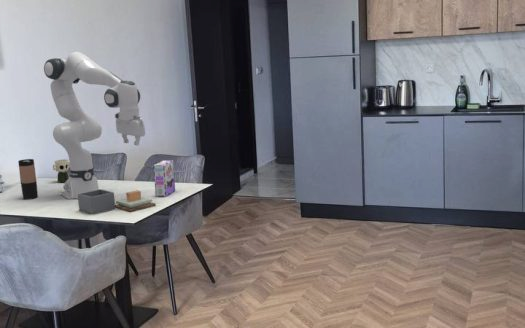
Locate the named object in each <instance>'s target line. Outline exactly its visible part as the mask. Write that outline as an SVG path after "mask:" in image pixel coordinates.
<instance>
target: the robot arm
mask: <svg viewBox="0 0 525 328" xmlns="http://www.w3.org/2000/svg"><path fill="white" fill-rule="evenodd" d="M43 72H44V74H45V76H46V77H47V78H48V79H50V80H52V81H51V83H50V92H51V95H52V99H53V102H54V106H55V107H56V109H57V112H58V114H59V116H60V117H61V118H63V119H65V120H68V122H63V123H60V124H57V125H55V126H54V128H53V130H52V137H53V139H54V141H55V142H56V143H57V144H58V145H60V146H62V147H63V148H64V151H66V153H67V155H68V162H70V167H69V169H70V170H69V169H68V171H69V172H68V178H69V179H68V180H66V182H64V184H63V185H62V186H63V187H62V188H63V190H64V191H61V192H60V194H59V195H60V196H62V197H64V198H66V199H67V200H73V199H78V194H80V193H85V192H90V191H94V190H99V188H100V187H99V183H98V178H97V177H96V176H95V169H94V165H93V159H92V158H93V157H92V156H93V155H92V153H91V152H90V151H89V150H87V149H84V148H83V146H82V143H83V142H90V141H91V142H92V141H94V140H96V139H99V138H100V137H101V135H102V130H103V128H102V126H101V124H100V122H99V121H98V120H95V119H93V118H92V117H91V116H89V115H88V114H87V113H86V112H85V111H84V110H83V108H82V107H81V105H80V103H79V100H78V98H77V96H76V93H75V91H74V87H73V84H76V85H77V84H78V83H79V82H80V81H82V82H83V83H85V84H88V85H99V86H100V85H101V86H106V87H109V88H108V89H106V91H105V92H104V95H103V98H104V99H103V100H104V103H105V105H106V106H107V107H109V108H113V109H117V108H119V111H118V112H117V113H115V114H114V118H115V128H116V129H115V130H116V132H117V134H121V137H122V138H123V143H124V144H129V138H128V136H131V137H134V140H135V141H133V144H134V146H139V145H140V140H141V137H145V135H146V130H145V124H144V121H143V119H142V118H141V116H140V111H139V109H140V108H139V102H140V100H141V93H140V90H139V89H138V88H137V84H136V83H135V82H134V81H131V80H123V79H121V78H120V77H118V76H117V75H116V74H114V73H112V71H109V70H107V69H105V68H103V67H102V66H100V65H99V64H97V63H96V62H95V61H93V60H92V59H91V58H90V57H89V56H87V55H85V54H84V53H82V52H80V51H72V52H71V53H70V54H69V55H68V56H67V58H57V57H56V58H55V57H53V58H50V59H48V60H46V61H45V63H44V64H43Z"/></svg>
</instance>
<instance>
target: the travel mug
mask: <svg viewBox="0 0 525 328" xmlns="http://www.w3.org/2000/svg"><path fill="white" fill-rule="evenodd" d="M17 163H18V171H19V172H18V173H19V178H20V179H19V180H20V186H21V194H22V199H23V200H33V199H38V197H39V196H38V194H39V193H38V185H37V184H38V183H37V182H38V181H37V176H36V175H37V174H36V167H35V166H36V165H35V159H33V158H28V159H27V158H26V159H20V160H18V162H17Z"/></svg>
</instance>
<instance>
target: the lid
mask: <svg viewBox="0 0 525 328" xmlns="http://www.w3.org/2000/svg"><path fill="white" fill-rule="evenodd" d="M141 193H142V192H141V190H132V191H128V192H125V194H126V198H124V199H117V200H116V201H115V204H120V205H122V206H126V207H129V208H133V207H137V206H141V205H146V204H149V202H152V203H153V199H152V198H148V197H143V196H142V194H141Z"/></svg>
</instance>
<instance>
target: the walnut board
mask: <svg viewBox="0 0 525 328" xmlns="http://www.w3.org/2000/svg"><path fill="white" fill-rule="evenodd" d="M156 206H157V205H156V203H155V202H153V201H152V202H149V204H146V205H141V206H137V207H133V208H129V207H126V206H122V205H120V204H118V203H116V204H115V209H117V210H121V211H125V212H128V213H132V212H136V211H140V210H144V209H145V210H146V209H148V208H152V207H156Z"/></svg>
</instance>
